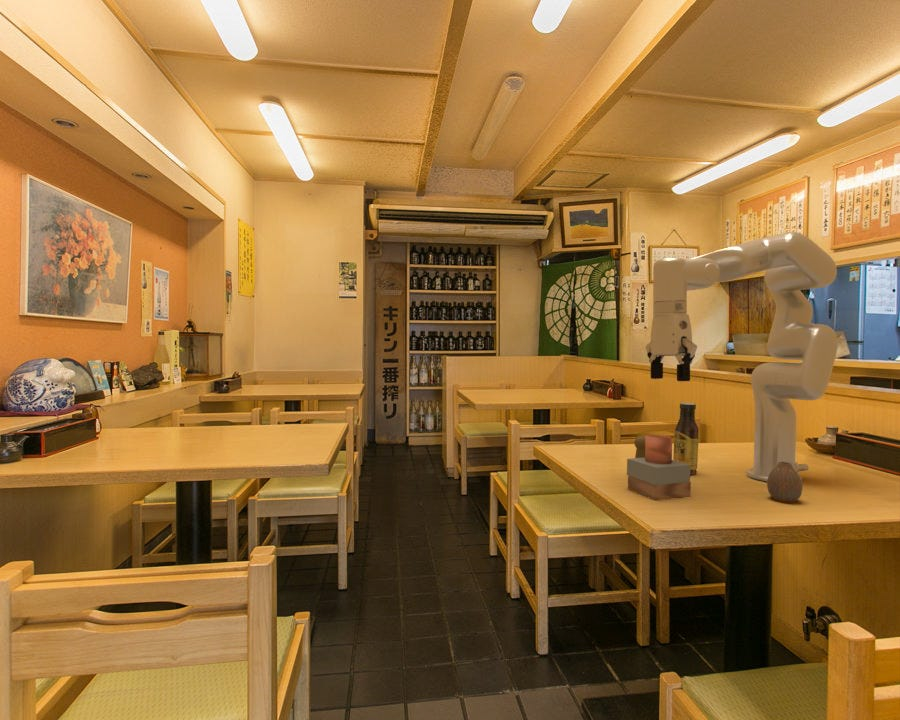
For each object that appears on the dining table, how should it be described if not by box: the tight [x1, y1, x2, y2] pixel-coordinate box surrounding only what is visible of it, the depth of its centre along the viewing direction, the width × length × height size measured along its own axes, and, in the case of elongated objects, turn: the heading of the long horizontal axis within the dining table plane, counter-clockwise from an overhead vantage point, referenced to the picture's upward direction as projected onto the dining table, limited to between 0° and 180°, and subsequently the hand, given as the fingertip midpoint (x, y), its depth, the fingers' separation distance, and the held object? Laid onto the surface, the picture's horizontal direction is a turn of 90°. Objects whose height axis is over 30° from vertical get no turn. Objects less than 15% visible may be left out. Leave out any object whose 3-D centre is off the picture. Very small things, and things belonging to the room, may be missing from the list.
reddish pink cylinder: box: [645, 434, 673, 464], centre depth 121 cm, size 6×6×6 cm
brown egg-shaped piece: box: [766, 462, 804, 503], centre depth 116 cm, size 7×7×9 cm
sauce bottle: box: [672, 402, 700, 476], centre depth 141 cm, size 6×6×20 cm
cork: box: [634, 435, 646, 458], centre depth 137 cm, size 6×6×11 cm
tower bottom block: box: [627, 475, 692, 501], centre depth 121 cm, size 10×10×4 cm
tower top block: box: [626, 457, 691, 485], centre depth 121 cm, size 10×10×4 cm
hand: (669, 379), depth 122 cm, fingers open, 9 cm apart
